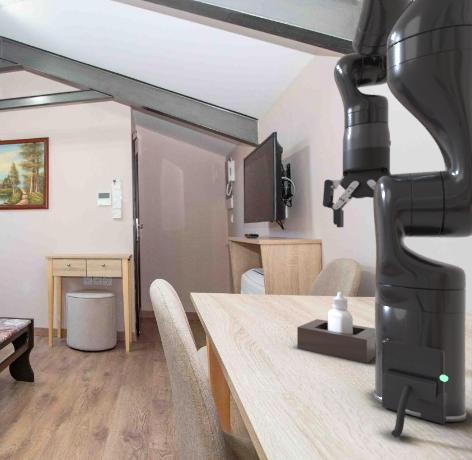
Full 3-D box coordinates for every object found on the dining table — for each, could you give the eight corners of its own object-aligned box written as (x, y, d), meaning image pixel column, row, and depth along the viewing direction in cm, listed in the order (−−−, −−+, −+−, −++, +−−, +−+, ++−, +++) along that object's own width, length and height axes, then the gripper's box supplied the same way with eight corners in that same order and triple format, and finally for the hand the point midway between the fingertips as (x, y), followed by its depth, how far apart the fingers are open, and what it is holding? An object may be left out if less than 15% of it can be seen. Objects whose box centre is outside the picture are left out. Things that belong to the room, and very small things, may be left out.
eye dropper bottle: (325, 350, 79) (325, 292, 79) (328, 344, 83) (328, 289, 83) (352, 355, 76) (352, 295, 76) (354, 348, 80) (354, 291, 80)
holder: (366, 363, 71) (366, 339, 71) (297, 348, 80) (297, 327, 80) (382, 351, 78) (382, 329, 78) (316, 338, 87) (316, 319, 87)
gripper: (318, 151, 81) (318, 227, 81) (409, 139, 70) (408, 227, 70) (330, 156, 86) (329, 227, 86) (416, 145, 75) (416, 227, 75)
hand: (365, 227), depth 78 cm, fingers open, 8 cm apart
